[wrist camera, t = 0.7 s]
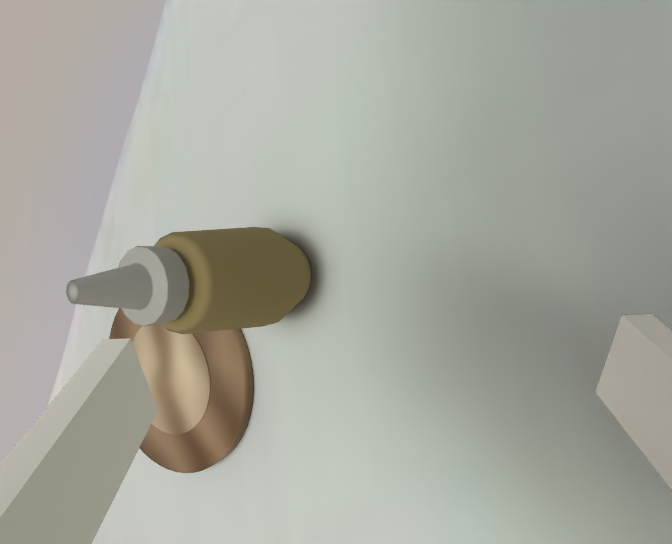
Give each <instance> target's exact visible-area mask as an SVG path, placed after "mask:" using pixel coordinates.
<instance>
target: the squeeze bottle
mask: <svg viewBox="0 0 672 544" xmlns="http://www.w3.org/2000/svg"><path fill="white" fill-rule="evenodd" d="M310 281H311V269H310V266H309V262H308V259H307V257H306V256H305V254H304V253H303V252H302V250H301V249H300V248H299V247H297V246H296V245H294V244H293V243H292V242H290V241H289V240H287V239H286V238H284V237H283V236H281V235H279V234H278V233H276V232H275V231H273V230H271V229H270V228H258V227H248V228H233V229H217V230H202V231H186V232H172V233H170V234H168V235H166V236H164V237H162V238H160V239H159V240H158V242H157V243H156V244H155V246H137V247H135V248H133V249H131V250H129V251H128V252H127V253H126V254H125V256H124V257H123V258H122V260H121V261H120V263H119V267H118V268H116V269H113V270H109V271H105V272H101V273H97V274H94V275H90V276H86V277H83V278H79V279H75V280H72V281H70V282H69V283H68V285H67V297H68V299H69V301H70V302H71V303H74V304H82V305H93V306H104V307H114V308H122V310H123V312H124V314H125V315H126V316H127V317H128V318H129V319H130V320H131V321H132V322H133V323H134V324H137V325H141V326H151V325H156V324H161V325H162V326H164V327H165V328H166V329H167V330H168V331H171V332H175V333H179V334H191V333H201V332H211V331H221V330H231V329H240V328H250V327H260V326H266V325H269V324H273V323H276V322H279V321H280V320H281V319H282V318H283V317H284V316H285V315H286V314H287V313H289V312H290V311H291V310H292V309H293V308H294V307H295V306H296V305H297V304H298V303H299V302H300V301H301V300H302V299H303V298H304V297H305V295H306V293H307V291H308V289H309V287H310Z"/></svg>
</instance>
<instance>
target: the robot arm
mask: <svg viewBox="0 0 672 544" xmlns="http://www.w3.org/2000/svg"><path fill="white" fill-rule="evenodd" d="M595 393H596V394H597V395H598V396H599V398H600V399H601V400H602V402H603V403H604V404H605V405H606V407H607V408H608V409H609V411H610V412H611V413H612V414H613V416H614V417H615V418H616V420H617V421H618V422H619V423H620V425H621V426H622V427H623V428H624V430H625V431H626V432H627V434H628V435H629V436H630V437H631V439H632V440H633V441H634V443H635V444H636V445H637V446H638V448H639V449H640V450H641V452H642V453H643V454H644V455H645V457H646V458H647V459H648V461H649V462H650V463H651V464H652V466H653V467H654V468H655V470H656V471H657V472H658V473H659V475H660V476H661V477H662V479H663V480H664V481H665V482H666V484H667V485H668V486H669V487H670V489H671V490H672V330H671V329H669V328H668V327H667V326H666V325H664V324H663V323H662V322H661V321H659V320H658V319H657V318H656V317H655V316H653V315H652V314H639V315H622V316H621V319H620V322H619V325H618V328H617V331H616V333H615V336H614V339H613V342H612V345H611V348H610V351H609V354H608V357H607V360H606V363H605V365H604V368H603V371H602V374H601V377H600V380H599V383H598V386H597V389H596V392H595ZM157 412H158V410H157V407H156V405H155V402H154V399H153V397H152V394H151V391H150V389H149V386H148V383H147V380H146V378H145V375H144V372H143V370H142V367H141V364H140V362H139V359H138V356H137V354H136V351H135V348H134V346H133V343H132V340H131V338H126V339H104V340H102V341H101V343H100V344H99V345H98V346H97V347H96V349H95V350H94V351H93V352H92V353H91V355H90V356H89V357H88V358H87V360H86V361H85V362H84V363H83V364H82V366H81V367H80V368H79V369H78V370H77V372H76V373H75V374H74V375H73V377H72V378H71V379H70V380H69V381H68V383H67V384H66V385H65V386H64V387H63V389H62V390H61V391H60V392H59V394H58V395H57V396H56V397H55V398H54V400H53V401H52V402H51V403H50V404H49V406H48V407H47V408H46V409H45V411H44V412H43V413H42V414H41V415H40V417H39V418H38V419H37V420H36V421H35V423H34V424H33V425H32V426H31V428H30V429H29V430H28V431H27V432H26V434H25V435H24V436H23V437H22V439H21V440H20V441H19V442H18V443H17V445H16V446H15V447H14V448H13V449H12V451H11V452H10V453H9V454H8V456H7V457H6V458H5V459H4V460H3V462H2V463H1V464H0V544H91V543H92V541H93V539H94V537H95V535H96V533H97V531H98V529H99V527H100V525H101V523H102V521H103V519H104V517H105V515H106V513H107V511H108V509H109V507H110V505H111V503H112V501H113V499H114V497H115V495H116V493H117V491H118V489H119V487H120V485H121V483H122V481H123V479H124V477H125V475H126V473H127V471H128V469H129V467H130V465H131V463H132V461H133V459H134V457H135V455H136V453H137V451H138V449H139V447H140V445H141V443H142V441H143V439H144V437H145V435H146V433H147V431H148V429H149V427H150V425H151V423H152V421H153V420H154V418H155V416H156V414H157Z"/></svg>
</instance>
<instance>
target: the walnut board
mask: <svg viewBox="0 0 672 544" xmlns="http://www.w3.org/2000/svg"><path fill="white" fill-rule="evenodd" d="M126 338H131V340H132V343H133V346H134V348H135V351H136V354H137V356H138V359H139V362H140V364H141V367H142V370H143V372H144V375H145V378H146V380H147V383H148V386H149V389H150V391H151V394H152V397H153V399H154V402H155V405H156V407H157V410H158V412H157V414H156V416H155V418H154V420H153V421H152V423H151V425H150V427H149V429H148V431H147V433H146V435H145V437H144V439H143V441H142V443H141V445H140V447H139V448H140V449H141V450H142V451H143V453H145V454H146V455H147V456H148V457H149V458H150V459H151V460H153V461H154V462H156V463H157V464H159V465H160V466H162V467H164V468H166V469H169V470H172V471H175V472H181V473H194V472H198V471H202V470H204V469H206V468H208V467H210V466H212V465H214V464H215V463H217V462H218V461H220V460H221V459H223V458H224V457H225V456H227V455H228V454H229V453H230V452H231V451H232V450H233V449H234V448H235V447H236V446H237V444H238V443H239V441H240V440H241V438H242V436H243V434H244V432H245V430H246V428H247V425H248V422H249V419H250V416H251V411H252V405H253V395H254V379H253V369H252V362H251V358H250V354H249V350H248V346H247V344H246V341H245V338H244V335H243V333H242V331H241V329H231V330H221V331H211V332H201V333H191V334H179V333H175V332H171V331H168V330H167V329H166V328H165V327H164V326H162V325H161V324H156V325H151V326H141V325H137V324H134V323H133V322H132V321H131V320H130V319H129V318H128V317H127V316H126V315H125V314H124V312H123V310H122V308H119V310H118V312H117V314H116V316H115V319H114V322H113V325H112V328H111V333H110V337H109V339H126Z"/></svg>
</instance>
